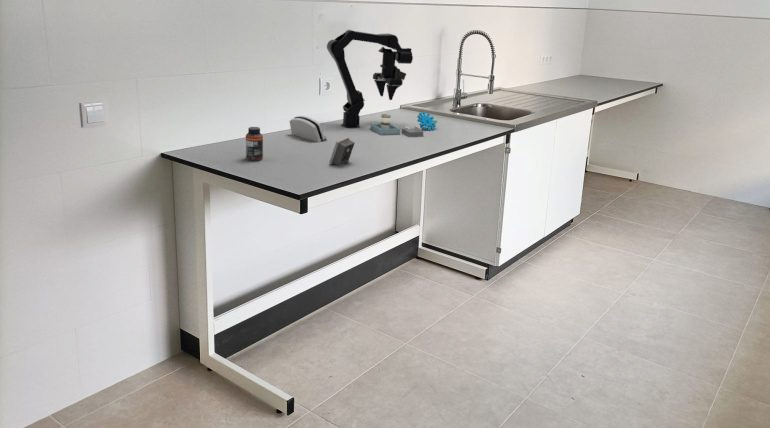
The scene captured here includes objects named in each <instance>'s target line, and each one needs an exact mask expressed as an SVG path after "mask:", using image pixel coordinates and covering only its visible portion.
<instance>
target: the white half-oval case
mask: <svg viewBox="0 0 770 428" xmlns="http://www.w3.org/2000/svg"><path fill="white" fill-rule="evenodd" d="M289 125H290V133H291V135H293V136H297V137H300V138H303V139H306V140H311V141H313V142H316V143H321V142H322V141H325V142H326V141H328V138H327V136H326V135H325V134H324V131H323V128H322V126H321V123H320V122H319V121H317V120H316V119H313V118H312V117H309V116H305V115H297V116H294V117H293V118H291V119H290V120H289Z"/></svg>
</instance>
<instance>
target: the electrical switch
mask: <svg viewBox="0 0 770 428" xmlns="http://www.w3.org/2000/svg"><path fill="white" fill-rule="evenodd" d="M355 144H356V143H355V142H354V141H352V140H351V139H350V137H349V136H345V137H343V138H340V139H338V140H336V141H335V144H334V148H333V150H332V153H331V155H330V159H329V164H330V165H333V164H334V165H336V166H338V167H340V166H342V165H344V164H346V163H347V162H349V161H350V158H351V156H352V153H353V152H352V151H353V150H354V146H355Z"/></svg>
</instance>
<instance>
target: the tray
mask: <svg viewBox="0 0 770 428" xmlns="http://www.w3.org/2000/svg"><path fill="white" fill-rule="evenodd" d="M370 130H371V131H372V132H374V133H375V134H378V135H379V136H393V135H394V136H395V135H398V136H399V135H400V134H401V129H400V128H399V127H397V126H395V125H392V124H391V123H390V129H381V123H373V124H372V123H370Z"/></svg>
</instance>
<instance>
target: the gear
mask: <svg viewBox="0 0 770 428" xmlns="http://www.w3.org/2000/svg"><path fill="white" fill-rule="evenodd" d="M416 118H417V122H418V123H419V127H420V128H422V129H424V130H427V131H428V132H431V131H434V130H435V128H436V127H437V123H438V119H435V117H434V116H432V115H431V113H430V112H426V111H422V112H420V111H419V113H418V115H417V116H416Z"/></svg>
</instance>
